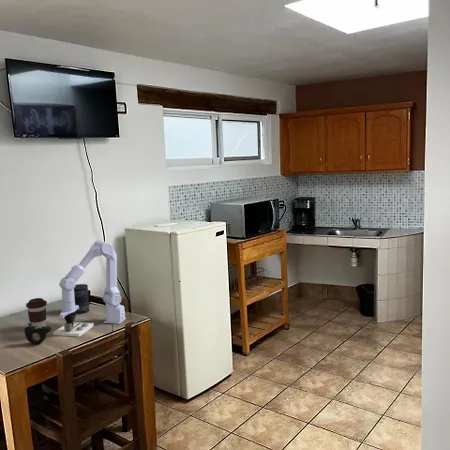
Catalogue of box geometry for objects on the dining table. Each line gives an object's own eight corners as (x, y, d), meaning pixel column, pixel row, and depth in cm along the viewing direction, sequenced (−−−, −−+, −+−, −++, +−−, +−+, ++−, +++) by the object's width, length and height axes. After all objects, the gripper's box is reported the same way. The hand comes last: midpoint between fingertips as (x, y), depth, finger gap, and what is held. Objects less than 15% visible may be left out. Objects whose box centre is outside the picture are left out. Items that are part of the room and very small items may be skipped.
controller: (27, 341, 221) (25, 321, 219) (53, 341, 221) (52, 321, 219) (24, 345, 216) (22, 325, 215) (50, 344, 216) (48, 324, 215)
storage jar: (70, 310, 266) (68, 285, 264) (88, 307, 270) (86, 283, 268) (72, 315, 257) (70, 289, 255) (90, 312, 261) (89, 287, 259)
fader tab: (72, 330, 230) (71, 323, 229) (70, 331, 228) (69, 324, 227) (66, 329, 230) (66, 323, 230) (64, 331, 228) (64, 324, 228)
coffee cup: (42, 322, 247) (40, 295, 244) (52, 326, 240) (50, 299, 238) (24, 328, 239) (22, 300, 237) (34, 332, 233) (31, 303, 231)
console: (93, 325, 240) (93, 321, 240) (79, 336, 226) (78, 332, 225) (69, 324, 243) (69, 320, 243) (53, 335, 228) (53, 330, 228)
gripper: (69, 296, 237) (71, 321, 239) (53, 305, 223) (55, 332, 225) (81, 297, 236) (83, 322, 237) (66, 306, 221) (68, 333, 223)
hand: (70, 327), depth 231 cm, fingers closed
